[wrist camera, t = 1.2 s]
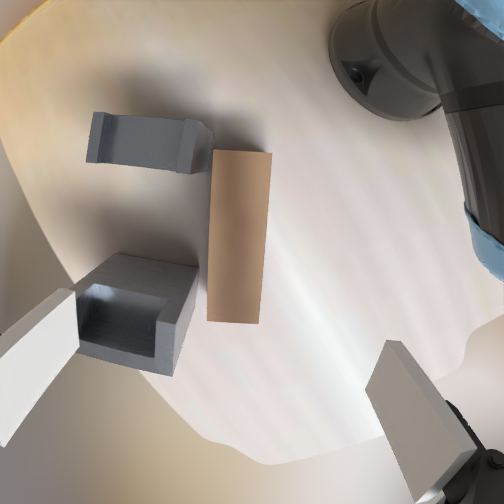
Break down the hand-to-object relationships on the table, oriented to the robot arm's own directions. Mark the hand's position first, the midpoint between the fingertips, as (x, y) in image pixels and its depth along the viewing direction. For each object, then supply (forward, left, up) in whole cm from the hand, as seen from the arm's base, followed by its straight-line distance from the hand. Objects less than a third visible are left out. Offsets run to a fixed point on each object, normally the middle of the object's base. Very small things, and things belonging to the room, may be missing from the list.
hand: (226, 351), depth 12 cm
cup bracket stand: (+9, 0, -23) cm, 24 cm away
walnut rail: (0, 0, -23) cm, 23 cm away
